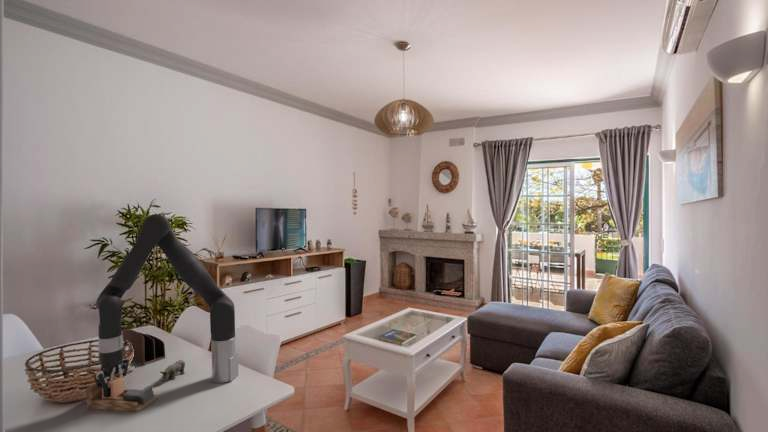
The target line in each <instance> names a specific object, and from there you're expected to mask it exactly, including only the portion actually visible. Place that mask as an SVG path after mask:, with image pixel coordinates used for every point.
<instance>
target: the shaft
mask: <svg viewBox="0 0 768 432" xmlns="http://www.w3.org/2000/svg"><path fill="white" fill-rule="evenodd" d="M129 389H130V390H129V391H127V392H126V393H124V394H123V401H131V402H138V403H140V404H145V403H147V402H148V401H149V400H151V399H152V398H153V395H154V394H153V395H152V391H153V386H152V385H147V386H146V387H144V388H143V389H135V390H134V388H133V389H132V388H129Z"/></svg>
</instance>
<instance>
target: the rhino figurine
mask: <svg viewBox="0 0 768 432" xmlns="http://www.w3.org/2000/svg"><path fill="white" fill-rule="evenodd" d="M185 366H186V363H185V361H184V360H183V359H179V360H177V361H176V362H174V363H173V364H169V365H168V366H167V367H166V369H164V371H160V374H162V376H161V378H159V381H161V382H162V383H165V382H166V381H167V380H168V379H171V381H175V380H176V374H177V373H180V375H184V374H185Z"/></svg>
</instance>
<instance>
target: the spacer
mask: <svg viewBox="0 0 768 432" xmlns="http://www.w3.org/2000/svg"><path fill="white" fill-rule="evenodd" d="M107 382H108V381H106V384H107ZM110 387H111V396H110V397H104V395H103V388H102V397H103V398H115V397H117V396H118V395H120V394H121V393H123V389H124V377H123V378H119V377H113V380H112V381H111V386H110Z"/></svg>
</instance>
